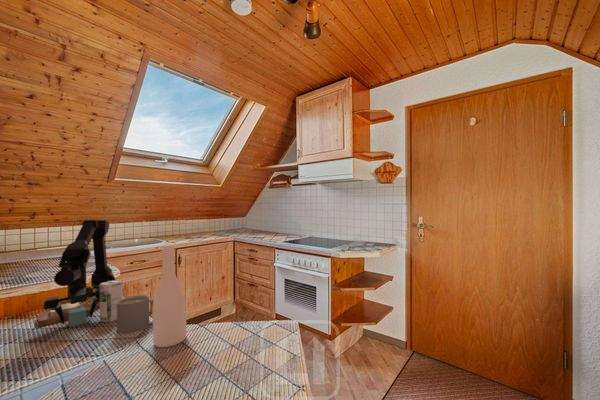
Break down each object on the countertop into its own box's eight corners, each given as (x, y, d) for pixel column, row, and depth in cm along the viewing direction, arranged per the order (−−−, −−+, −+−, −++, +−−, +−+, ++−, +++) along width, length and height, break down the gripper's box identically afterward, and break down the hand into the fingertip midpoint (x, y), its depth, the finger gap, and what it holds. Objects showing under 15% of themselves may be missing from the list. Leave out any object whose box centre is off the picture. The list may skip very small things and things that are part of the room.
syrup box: (98, 321, 105) (98, 283, 106) (114, 315, 111) (113, 279, 111) (108, 323, 103) (107, 284, 104) (123, 317, 108) (123, 280, 109)
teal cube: (85, 319, 108) (84, 306, 108) (86, 323, 104) (86, 309, 104) (68, 323, 104) (68, 310, 105) (69, 327, 101) (69, 313, 101)
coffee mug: (123, 336, 91) (123, 306, 91) (112, 329, 97) (112, 301, 97) (164, 322, 102) (163, 295, 102) (151, 316, 108) (151, 291, 108)
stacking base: (88, 307, 123) (88, 298, 123) (91, 314, 113) (91, 304, 113) (39, 317, 112) (39, 308, 112) (38, 326, 102) (38, 316, 102)
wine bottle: (168, 350, 80) (166, 248, 81) (146, 345, 83) (143, 247, 84) (193, 336, 88) (190, 244, 90) (171, 332, 92) (169, 243, 93)
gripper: (43, 288, 93) (44, 335, 92) (109, 277, 105) (110, 318, 105) (43, 283, 101) (44, 326, 100) (105, 273, 114) (105, 311, 113)
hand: (77, 320), depth 104 cm, fingers open, 8 cm apart
